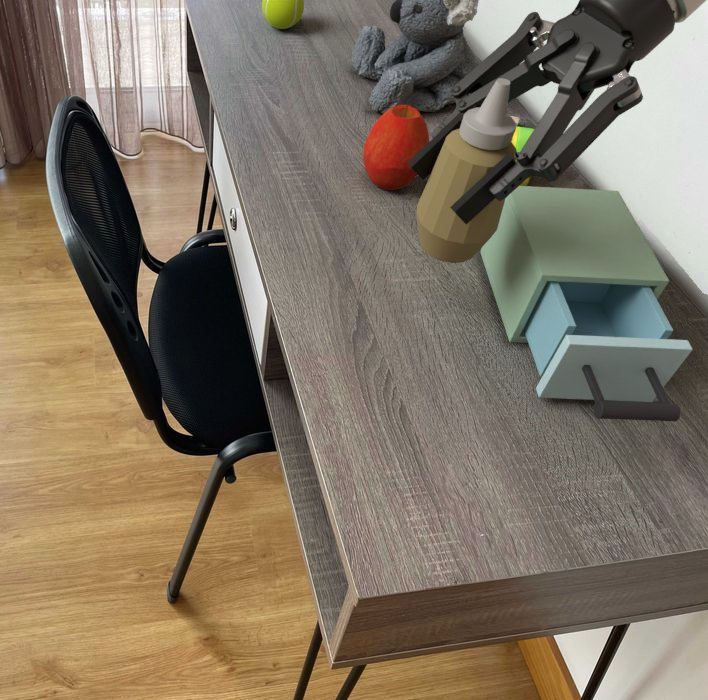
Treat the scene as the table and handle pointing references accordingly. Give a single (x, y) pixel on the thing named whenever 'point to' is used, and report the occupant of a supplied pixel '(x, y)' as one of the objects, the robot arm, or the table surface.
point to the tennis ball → (282, 12)
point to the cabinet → (563, 248)
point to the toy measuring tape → (521, 140)
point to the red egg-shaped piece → (394, 147)
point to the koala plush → (417, 54)
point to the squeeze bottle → (466, 180)
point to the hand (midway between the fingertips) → (436, 193)
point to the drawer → (605, 349)
